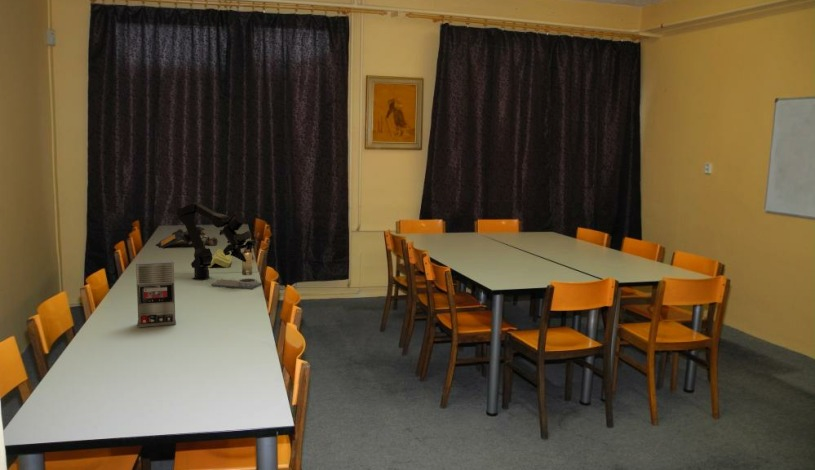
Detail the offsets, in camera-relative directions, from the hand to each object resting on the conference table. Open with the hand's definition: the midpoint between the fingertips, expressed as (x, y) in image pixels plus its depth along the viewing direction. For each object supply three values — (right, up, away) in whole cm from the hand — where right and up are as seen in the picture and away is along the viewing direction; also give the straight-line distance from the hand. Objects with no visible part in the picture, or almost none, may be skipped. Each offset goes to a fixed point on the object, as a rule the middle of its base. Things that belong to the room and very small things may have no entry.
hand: (249, 260), depth 313 cm
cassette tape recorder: (-21, -23, -63) cm, 70 cm away
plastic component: (-29, -5, +52) cm, 60 cm away
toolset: (-71, +6, +115) cm, 135 cm away
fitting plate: (-7, -13, +4) cm, 15 cm away
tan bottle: (-2, -7, +2) cm, 7 cm away
